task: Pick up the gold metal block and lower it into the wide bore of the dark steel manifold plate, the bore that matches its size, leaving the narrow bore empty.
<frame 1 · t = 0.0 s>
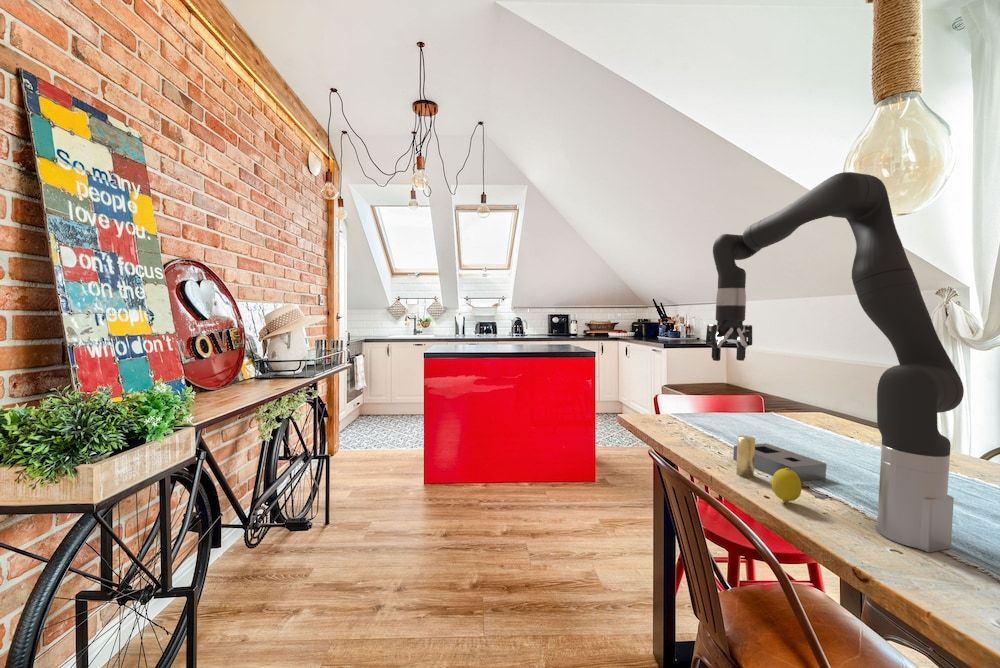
hand: (728, 360, 123), 29 cm above the table, tool pointing down, fingers open, 8 cm apart
gold metal block: (744, 475, 112), on the table
lemon: (785, 503, 95), on the table
manifold plate: (776, 468, 118), on the table
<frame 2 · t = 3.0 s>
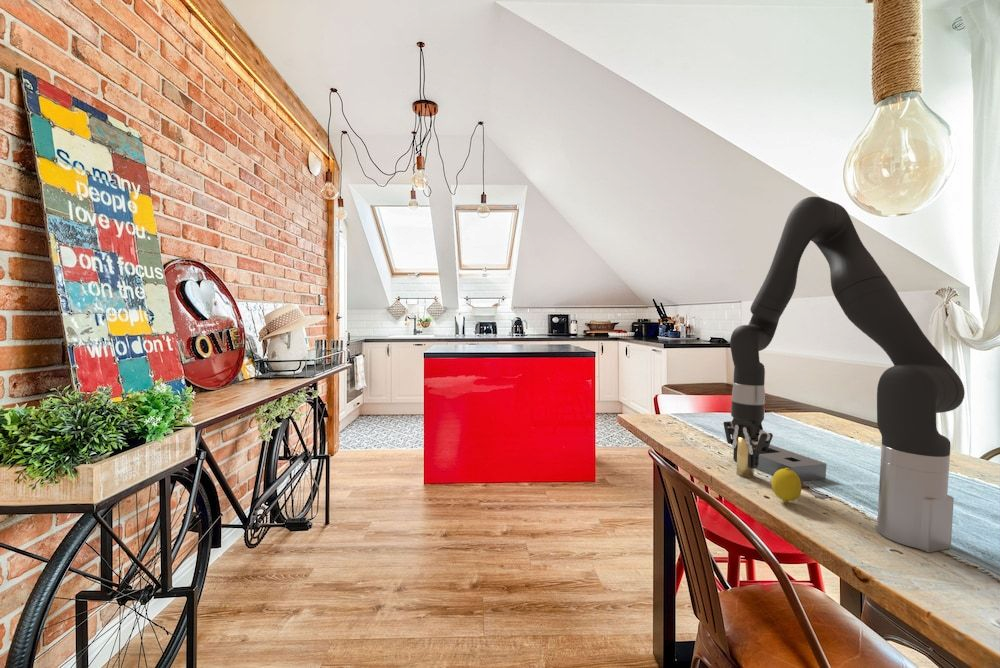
hand: (745, 464, 112), 3 cm above the table, tool pointing down, fingers closed on gold metal block, 4 cm apart
gold metal block: (744, 475, 112), on the table, touching gripper
everything else where it was.
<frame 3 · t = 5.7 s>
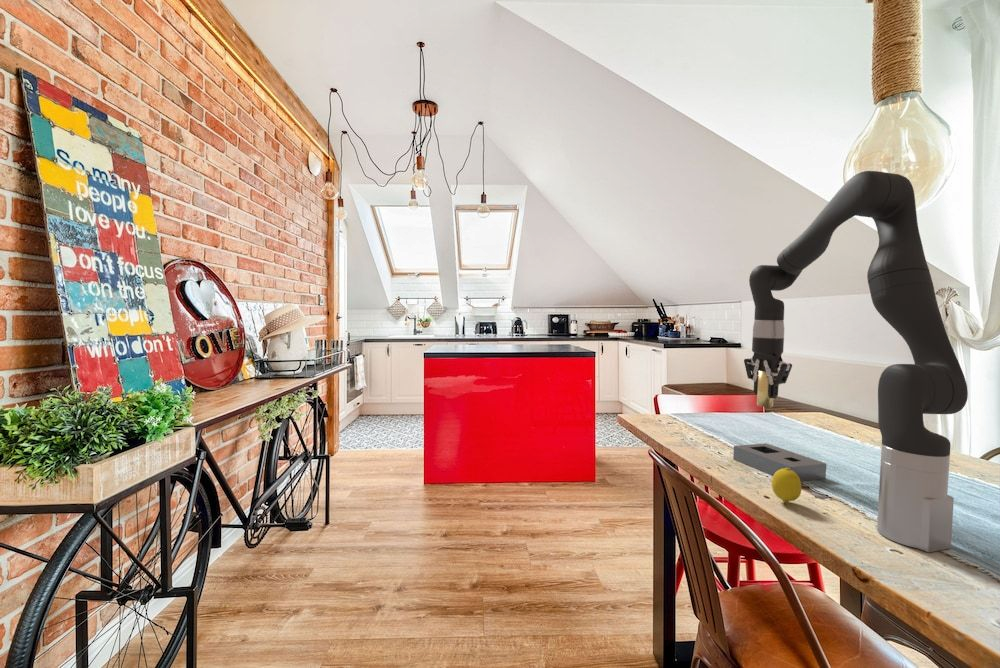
hand: (765, 396, 120), 20 cm above the table, tool pointing down, fingers closed on gold metal block, 4 cm apart
gold metal block: (764, 405, 121), point 17 cm above the table, touching gripper
everything else where it was.
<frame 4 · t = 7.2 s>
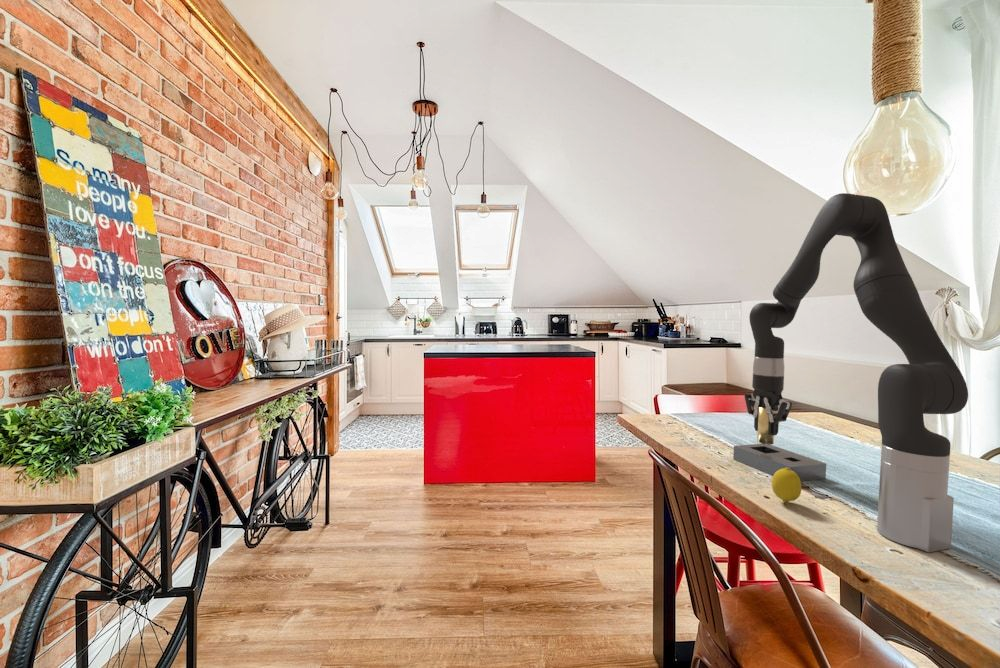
hand: (765, 432, 121), 9 cm above the table, tool pointing down, fingers closed on gold metal block, 4 cm apart
gold metal block: (765, 442, 121), point 6 cm above the table, touching gripper
everything else where it was.
when the fingers open (5 cm above the table, at t = 8.3 s): gold metal block drops 2 cm, resting in manifold plate.
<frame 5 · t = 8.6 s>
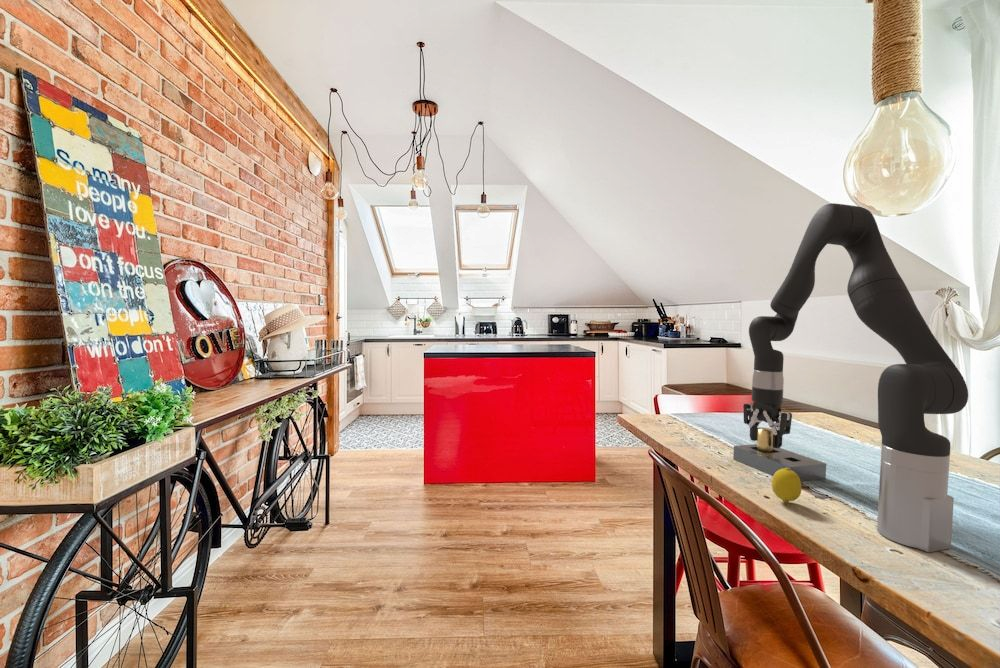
hand: (765, 443, 121), 6 cm above the table, tool pointing down, fingers open, 6 cm apart
gold metal block: (764, 463, 121), resting in manifold plate
everything else where it was.
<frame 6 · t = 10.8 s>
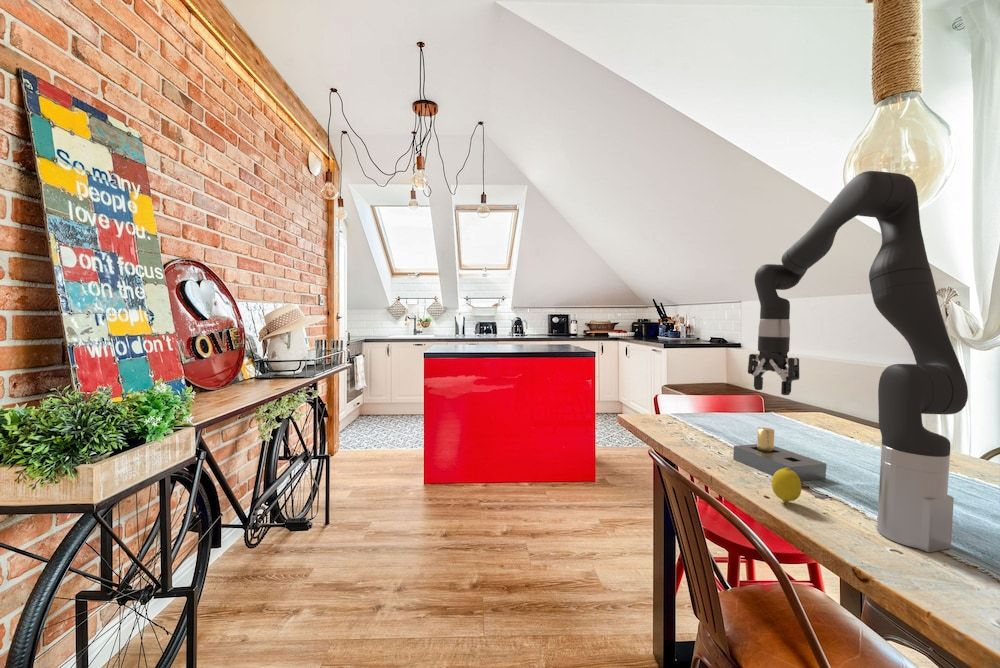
hand: (771, 392, 120), 21 cm above the table, tool pointing down, fingers open, 8 cm apart
nothing on the table moved.
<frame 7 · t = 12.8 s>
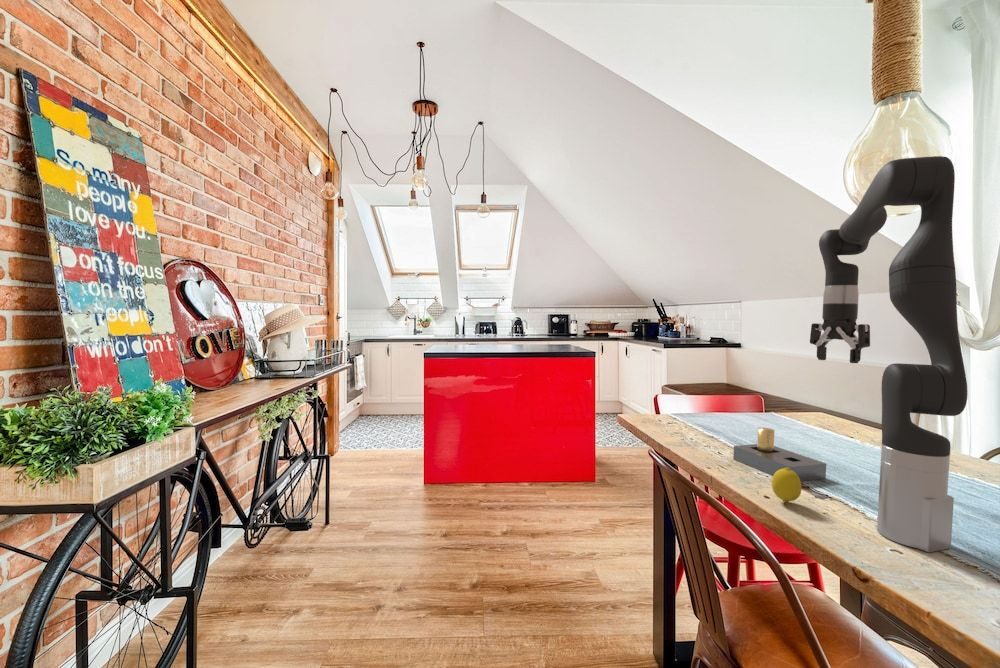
hand: (837, 361, 117), 30 cm above the table, tool pointing down, fingers open, 8 cm apart
nothing on the table moved.
at the end: gold metal block 0.1 cm from the target spot on the manifold plate, point 0.0 cm above the manifold plate's base; gold metal block tilted 0°; the gripper is holding nothing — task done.
